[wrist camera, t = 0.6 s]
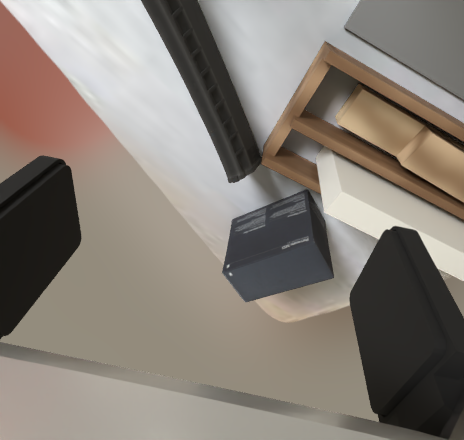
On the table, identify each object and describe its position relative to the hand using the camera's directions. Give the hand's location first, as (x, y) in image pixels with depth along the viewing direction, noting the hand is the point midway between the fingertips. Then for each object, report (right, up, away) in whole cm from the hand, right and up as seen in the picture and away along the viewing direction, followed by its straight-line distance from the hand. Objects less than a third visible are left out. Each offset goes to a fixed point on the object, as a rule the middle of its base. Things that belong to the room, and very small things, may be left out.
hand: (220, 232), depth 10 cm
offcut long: (+25, +10, +32) cm, 42 cm away
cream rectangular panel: (+22, +5, +36) cm, 42 cm away
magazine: (-3, +21, +29) cm, 35 cm away
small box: (+8, 0, +42) cm, 43 cm away
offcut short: (+27, +7, +30) cm, 41 cm away
